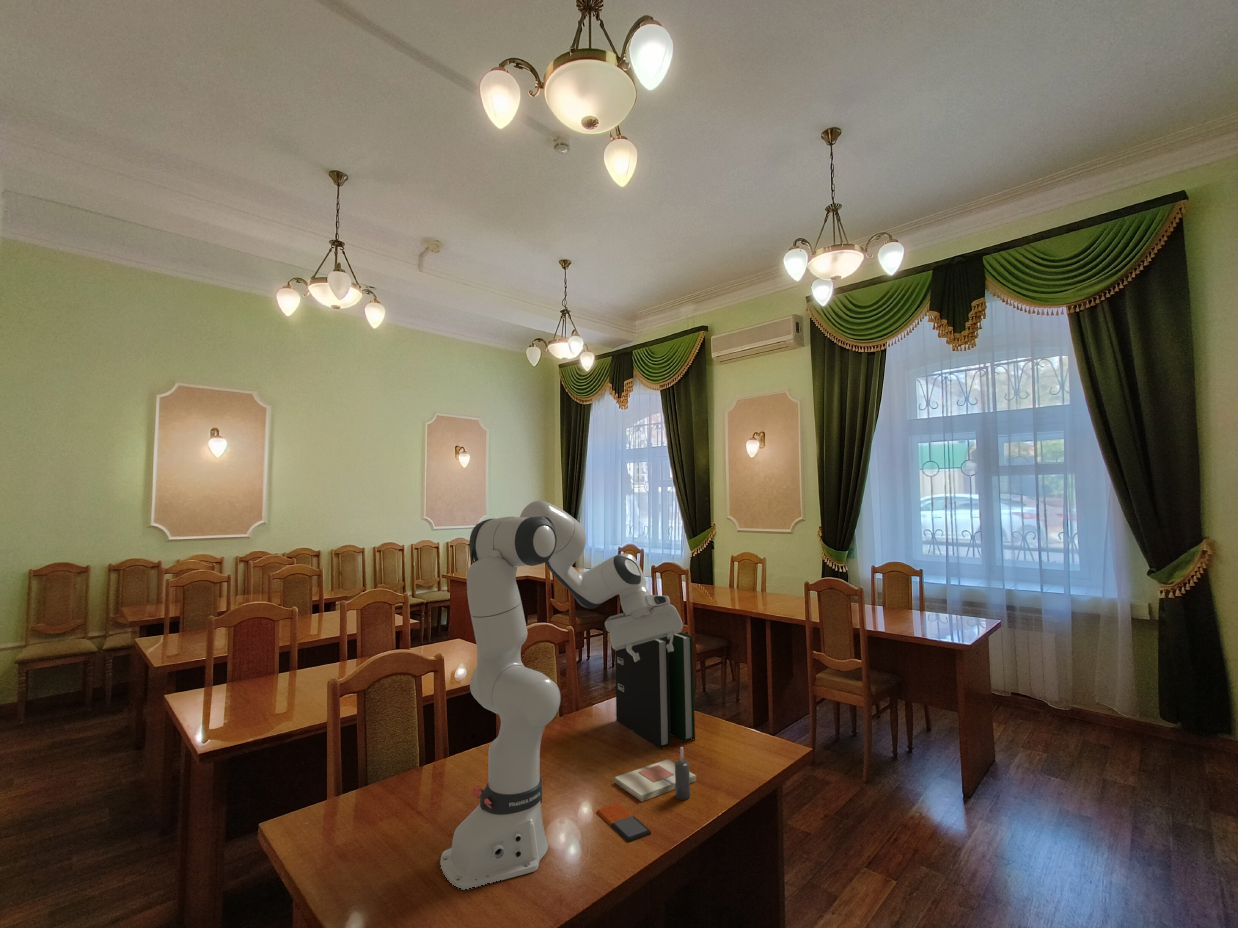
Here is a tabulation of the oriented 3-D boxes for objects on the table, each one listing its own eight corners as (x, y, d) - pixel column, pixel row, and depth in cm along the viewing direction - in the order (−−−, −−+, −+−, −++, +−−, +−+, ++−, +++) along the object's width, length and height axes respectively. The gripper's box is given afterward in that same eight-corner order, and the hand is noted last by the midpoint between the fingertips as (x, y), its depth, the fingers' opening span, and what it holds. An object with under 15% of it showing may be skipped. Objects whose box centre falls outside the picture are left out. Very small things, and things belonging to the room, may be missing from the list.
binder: (697, 740, 181) (694, 635, 183) (656, 750, 174) (654, 641, 176) (651, 712, 205) (649, 620, 207) (614, 721, 198) (612, 625, 200)
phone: (618, 801, 144) (652, 830, 131) (619, 806, 144) (652, 836, 131) (595, 808, 140) (627, 839, 128) (595, 814, 140) (627, 845, 127)
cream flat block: (641, 801, 145) (641, 794, 145) (614, 782, 155) (614, 776, 155) (696, 780, 155) (695, 774, 155) (667, 764, 165) (667, 758, 165)
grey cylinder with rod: (681, 801, 145) (680, 751, 145) (672, 795, 148) (671, 746, 148) (692, 796, 147) (691, 748, 147) (683, 791, 150) (682, 743, 150)
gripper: (602, 613, 158) (617, 662, 150) (673, 594, 162) (691, 641, 154) (602, 622, 163) (616, 670, 155) (671, 604, 167) (688, 649, 159)
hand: (654, 655), depth 155 cm, fingers open, 8 cm apart
